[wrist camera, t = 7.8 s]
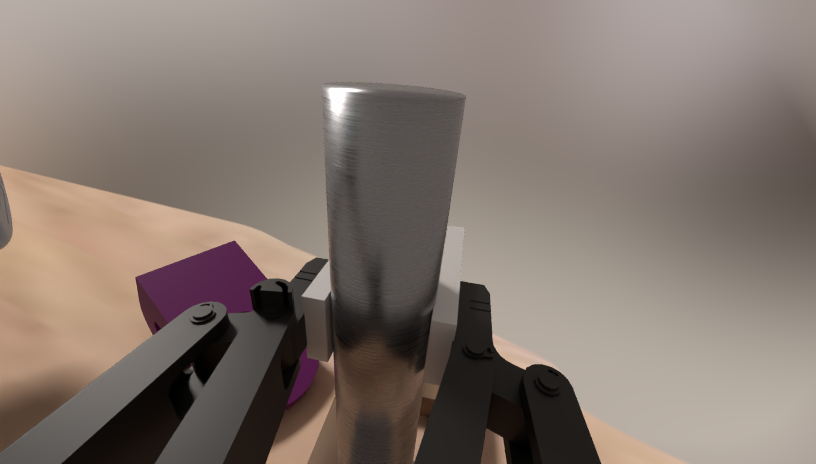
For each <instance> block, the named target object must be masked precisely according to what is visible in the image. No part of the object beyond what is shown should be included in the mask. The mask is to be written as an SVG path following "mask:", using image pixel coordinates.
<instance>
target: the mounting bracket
mask: <svg viewBox="0 0 816 464" xmlns="http://www.w3.org/2000/svg"><path fill="white" fill-rule="evenodd" d="M135 278H136V284H137V290H138V296H139V302H140V306H141V310H142V313H143V315H144V318H145V320H146V322H147V324H148V326H149V328H150V330H151V332H152V334H153V335H154V334H155V333H157V332H158V331H159V330H161V329H162V328H163V327H165V326H166V325H167V324H168V323H170V322H171V321H172V320H174V319H175V318H176V317H178V316H179V315H180V314H182V313H183V312H184V311H185V310H187V309H189V308H190V307H192V306H194V305H197V304H200V303H204V302H219V303H221V304H223V305H225V307H226V309H227V313H246V312H252V311H253V307H252V301H251V296H250V291H249V289H250V288H251V287H252V286H253V285H255V284H257V283H259V282H261V281H264V280H267V278H266V277H265V276H264V275H263V273H262V272H261V271H260V270H259V269H258V267H257V266H256V265H255V264H254V263H253V262H252V260H251V259H250V258H249V257H248V256H247V254H246V253H245V252H244V251H243V250H242V249H241V247H240V246H239V245H238V244H237V243H236V241H232V242H229V243H227V244H224V245H221V246H218V247H216V248H213V249H210V250H208V251H205V252H202V253H200V254H197V255H194V256H191V257H189V258H186V259H183V260H181V261H178V262H175V263H173V264H170V265H167V266H164V267H162V268H159V269H156V270H154V271H151V272H148V273H146V274H143V275H140V276H137V277H135ZM300 359H301V366H300V370H299V373H298V376H297V379H296V381H295V384H294V387H293V390H292V392H291V395H290V398H289V400H288V403H287V406H286V409H285V410H287V409H288V408H290V407H291V406H293V405H294V404H295V403H296V402H297V401H298V400H299V399H300V398H301V397H302V396H303V395H304V393H305V392H306V390H307V389H308V387H309V386H310V384H311V383H312V381H313V379H314V377H315V375H316V372H317V368H318V363H319V360H316V359H311V358H307V349H306V348H305V349H304V351H303V353H302V354H301V356H300ZM190 365H191V366H192V363H191V364H190Z"/></svg>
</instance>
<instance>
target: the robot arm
mask: <svg viewBox="0 0 816 464" xmlns="http://www.w3.org/2000/svg"><path fill="white" fill-rule="evenodd" d="M12 231H13V228H12V218H11V212H10V207H9V202H8V198H7V195H6V191H5V187H4V183H3V180H2V177H1V173H0V250H1V249H2V248H4V247H5V246H6V245H7V244H8V243H9V241H10V239H11V237H12ZM463 238H464V228H462V227H455V226H448V229H447V235H446V241H445V246H444V252H443V258H442V264H441V271H440V278H439V285H438V291H437V298H436V303H435V305H434V308H433V314H432V320H431V326H430V334H429V341H428V348H427V355H426V362H425V369H424V376H423V382H425V383H429V384H434V385H439V389H438V392H437V396H436V399H435V402H434V405H433V408H432V411H431V414H430V417H429V420H428V423H427V426H426V429H425V432H424V435H423V438H422V441H421V444H420V447H419V451H418V454H417V457H416V460H415V463H414V464H480V463H481V456H482V450H483V444H484V438H485V431H486V428H487V429H489V430H491V431H492V432H494V433H496V434H498V435H500V436H501V437H503V440H504V447H505V454H506V461H507V464H601V462H600V459H599V456H598V454H597V451H596V449H595V446H594V443H593V441H592V438H591V435H590V433H589V430H588V427H587V425H586V422H585V419H584V417H583V414H582V411H581V409H580V406H579V403H578V401H577V398H576V395H575V393H574V390H573V388H572V386H571V384H570V382H569V381H568V379H567V378H566V377H565V376H564V375H563V374H562V373H561V372H559V371H557V370H556V369H554V368H552V367H549V366H546V365H542V364H534V365H531V366H529V367H527V368H526V370H524V369H522V368H520V367H517V366H515V365H513V364H511V363H510V362H508V361H506V360H505V359H504V358H502V357H501V356H500V355H499V354H498V352H497V351H496V349H495V347H494V345H493V340H492V323H491V305H490V294H489V292H488V291H487V289H486V287H485V286H484V285H480V284H474V283H468V282H463V281H460V278H461V265H462V264H461V263H462V251H463ZM249 291H250V296H251V301H252V307H253V311H252V312H246V313H227V309H226V307H225V305H223V304H221V303H219V302H204V303H200V304H197V305H194V306H192V307H190V308H189V309H187V310H185V311H184V312H183V313H182V314H180V315H179V316H178V317H176V318H175V319H174V320H172V321H171V322H170V323H168V324H167V325H166V326H165V327H163V328H162V329H161V330H159V331H158V332H157V333H155V334H154V335H153V336H152V337H150V338H149V339H148V340H146V341H145V342H144V343H142V344H141V345H140V346H139V347H137V348H136V349H135V350H133V351H132V352H131V353H129V354H128V355H127V356H125V357H124V358H123V359H122V360H120V361H119V362H118V363H116V364H115V365H114V366H112V367H111V368H110V369H109V370H107V371H106V372H105V373H103V374H102V375H101V376H99V377H98V378H97V379H95V380H94V381H93V382H92V383H90V384H89V385H88V386H86V387H85V388H84V389H82V390H81V391H80V392H79V393H77V394H76V395H75V396H73V397H72V398H71V399H69V400H68V401H67V402H65V403H64V404H63V405H62V406H60V407H59V408H58V409H56V410H55V411H54V412H52V413H51V414H50V415H49V416H47V417H46V418H45V419H43V420H42V421H41V422H39V423H38V424H37V425H35V426H34V427H33V428H32V429H30V430H29V431H28V432H26V433H25V434H24V435H22V436H21V437H20V438H19V439H17V440H16V441H15V442H13V443H12V444H11V445H9V446H8V447H7V448H5V449H4V450H3V451H2V452H0V464H265V463H266V461H267V458H268V455H269V452H270V450H271V447H272V444H273V441H274V439H275V436H276V433H277V431H278V428H279V425H280V422H281V420H282V417H283V414H284V411H285V409H286V406H287V403H288V400H289V398H290V395H291V392H292V390H293V387H294V384H295V381H296V379H297V376H298V373H299V370H300V366H301V359H300V356H301V354H302V353H303V351H304V349H305V348H306V349H307V358H311V359H316V360H320V361H325V362H328V361H329V359H330V357H331V355H332V353H333V329H332V307H331V284H330V261H329V260H328V259H322V258H315V259H313V260H311V261H310V262H308V263H306V264H305V265H304V267H303V268H302V269H301V270H300V272H298V274H297V275H296V276H295V278H293V279H292V281H291V282H288V281H286V280H283V279H267V280H264V281H261V282H259V283H257V284H255V285H253V286H252V287H251V288H250V289H249ZM191 363H192V366H191V367H190V368H189V369H188V370H187V371H185V372H183V370H184V369H186V368H187V367H188V366H189V365H190V364H191Z"/></svg>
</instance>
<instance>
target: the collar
mask: <svg viewBox="0 0 816 464" xmlns="http://www.w3.org/2000/svg"><path fill="white" fill-rule="evenodd" d="M438 389H439V385H434V384H429V383H425V382H424V388H423V394H422V401H421V408H420V415H425V416H430V414H431V411H432V408H433V405H434V402H435V399H436V396H437V392H438ZM414 463H415V462H414V461H413V463H412V464H414ZM308 464H338V443H337V420H336V397H335V398H334V400H333V403H332V405H331V408H330V410H329V413H328V415H327V417H326V420H325V422H324V425H323V427H322V430H321V432H320V435H319V437H318V439H317V442H316V444H315V447H314V449H313V452H312V454H311V457H310V459H309V461H308Z"/></svg>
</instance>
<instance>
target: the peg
mask: <svg viewBox="0 0 816 464" xmlns="http://www.w3.org/2000/svg"><path fill="white" fill-rule="evenodd" d="M465 99H466V96H465V95H463V94H460V93H456V92H452V91H446V90H441V89H434V88H425V87H417V86H407V85H396V84H382V83H361V82H339V83H338V82H336V83H326V84H322V101H323V124H324V147H325V171H326V191H327V192H326V193H327V214H328V239H329V261H330V284H331V307H332V329H333V352H334V375H335V397H336V420H337V443H338V464H412V463H413V456H414V449H415V443H416V436H417V429H418V422H419V415H420V408H421V401H422V394H423V388H424V382H423V376H424V369H425V362H426V355H427V348H428V341H429V334H430V326H431V320H432V314H433V308H434V305H435V303H436V298H437V291H438V285H439V278H440V271H441V264H442V257H443V250H444V243H445V237H446V230H447V223H448V216H449V209H450V202H451V195H452V188H453V182H454V175H455V168H456V161H457V154H458V147H459V140H460V134H461V127H462V120H463V113H464V106H465Z"/></svg>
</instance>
